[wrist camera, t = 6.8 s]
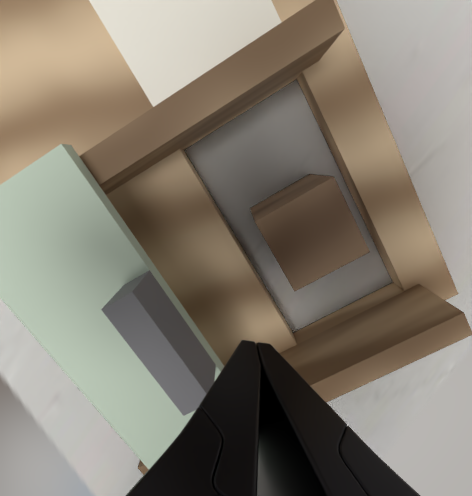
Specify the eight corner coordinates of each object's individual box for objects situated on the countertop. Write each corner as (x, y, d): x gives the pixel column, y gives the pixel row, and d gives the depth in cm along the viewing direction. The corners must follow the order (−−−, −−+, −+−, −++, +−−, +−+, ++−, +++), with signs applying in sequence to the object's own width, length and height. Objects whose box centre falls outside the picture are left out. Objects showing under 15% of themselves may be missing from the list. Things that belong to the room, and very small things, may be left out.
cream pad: (280, 25, 16) (281, 22, 15) (154, 108, 17) (153, 107, 16) (211, -124, 14) (210, -130, 14) (76, -22, 15) (73, -26, 15)
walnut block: (338, 231, 20) (369, 251, 16) (280, 262, 21) (294, 291, 16) (309, 174, 19) (334, 176, 15) (249, 208, 20) (254, 221, 15)
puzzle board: (443, 285, 21) (511, 324, 16) (172, 418, 24) (155, 488, 19) (249, -169, 15) (257, -355, 10) (-87, 88, 18) (-223, 56, 13)
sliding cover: (273, 437, 18) (282, 497, 15) (174, 482, 19) (162, 548, 15) (71, 145, 13) (19, 138, 10) (-46, 223, 14) (-127, 239, 11)
